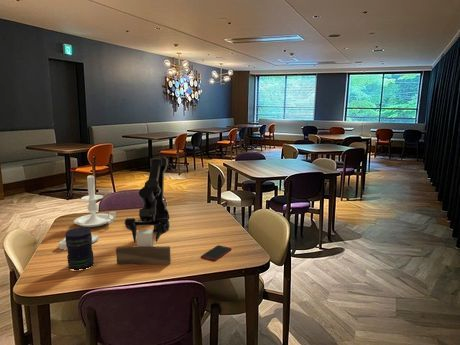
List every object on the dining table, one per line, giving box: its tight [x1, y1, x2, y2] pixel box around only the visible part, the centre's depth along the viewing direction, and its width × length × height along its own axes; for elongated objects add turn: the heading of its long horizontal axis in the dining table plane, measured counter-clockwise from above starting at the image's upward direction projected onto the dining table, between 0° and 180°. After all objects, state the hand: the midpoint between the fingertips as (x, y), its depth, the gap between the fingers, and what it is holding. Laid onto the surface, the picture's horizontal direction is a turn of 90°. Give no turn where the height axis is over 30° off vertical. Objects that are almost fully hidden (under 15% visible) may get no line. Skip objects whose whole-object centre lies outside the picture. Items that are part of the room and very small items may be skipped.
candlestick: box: [73, 174, 117, 228], centre depth 195 cm, size 21×25×28 cm
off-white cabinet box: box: [136, 228, 155, 247], centre depth 153 cm, size 5×6×12 cm
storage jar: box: [64, 227, 95, 270], centre depth 146 cm, size 10×10×15 cm
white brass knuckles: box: [58, 233, 100, 250], centre depth 171 cm, size 3×18×15 cm
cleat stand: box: [115, 245, 172, 265], centre depth 153 cm, size 11×22×7 cm, turn 91°
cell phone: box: [200, 244, 232, 262], centre depth 159 cm, size 8×15×1 cm, turn 150°
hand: (145, 241), depth 152 cm, fingers open, 9 cm apart
